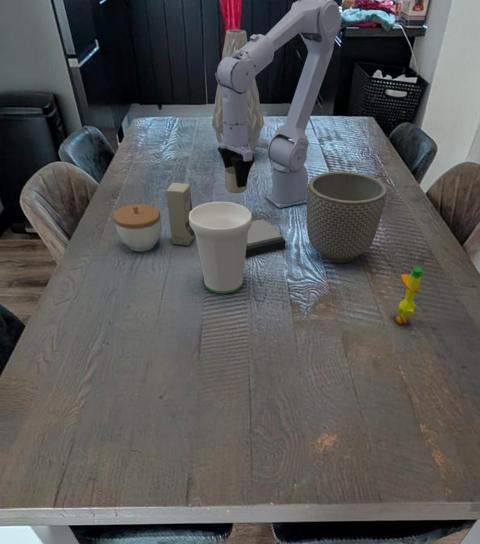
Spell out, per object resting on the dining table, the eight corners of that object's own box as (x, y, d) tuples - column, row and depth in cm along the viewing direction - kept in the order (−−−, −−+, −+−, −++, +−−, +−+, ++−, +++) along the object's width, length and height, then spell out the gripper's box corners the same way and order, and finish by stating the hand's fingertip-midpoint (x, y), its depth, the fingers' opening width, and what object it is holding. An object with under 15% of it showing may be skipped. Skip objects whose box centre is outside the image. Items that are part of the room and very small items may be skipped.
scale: (263, 227, 123) (263, 216, 121) (285, 248, 116) (286, 237, 114) (220, 236, 119) (219, 225, 117) (240, 258, 112) (240, 247, 110)
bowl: (241, 183, 124) (241, 164, 121) (251, 191, 121) (251, 172, 117) (221, 186, 122) (221, 168, 119) (230, 195, 119) (230, 176, 116)
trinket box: (172, 239, 117) (167, 201, 111) (151, 259, 110) (144, 220, 104) (133, 231, 120) (126, 193, 113) (110, 251, 113) (101, 212, 106)
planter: (290, 244, 117) (294, 176, 105) (350, 232, 122) (361, 166, 110) (322, 279, 106) (331, 208, 95) (387, 265, 111) (403, 195, 100)
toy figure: (386, 311, 98) (399, 258, 90) (402, 309, 99) (416, 256, 90) (399, 331, 94) (415, 277, 85) (416, 328, 95) (433, 275, 86)
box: (189, 246, 115) (183, 192, 106) (171, 244, 116) (164, 190, 106) (195, 236, 119) (190, 183, 109) (178, 234, 119) (172, 181, 110)
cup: (230, 305, 98) (227, 235, 87) (183, 287, 103) (175, 218, 92) (262, 279, 106) (263, 211, 95) (217, 263, 110) (213, 196, 99)
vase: (273, 154, 159) (277, 30, 136) (245, 169, 150) (244, 38, 126) (232, 144, 165) (229, 23, 141) (203, 158, 156) (194, 31, 132)
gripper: (207, 114, 114) (211, 174, 123) (232, 132, 105) (233, 195, 115) (234, 111, 116) (235, 170, 126) (260, 129, 107) (259, 190, 117)
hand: (236, 182), depth 120 cm, fingers closed on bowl, 6 cm apart
